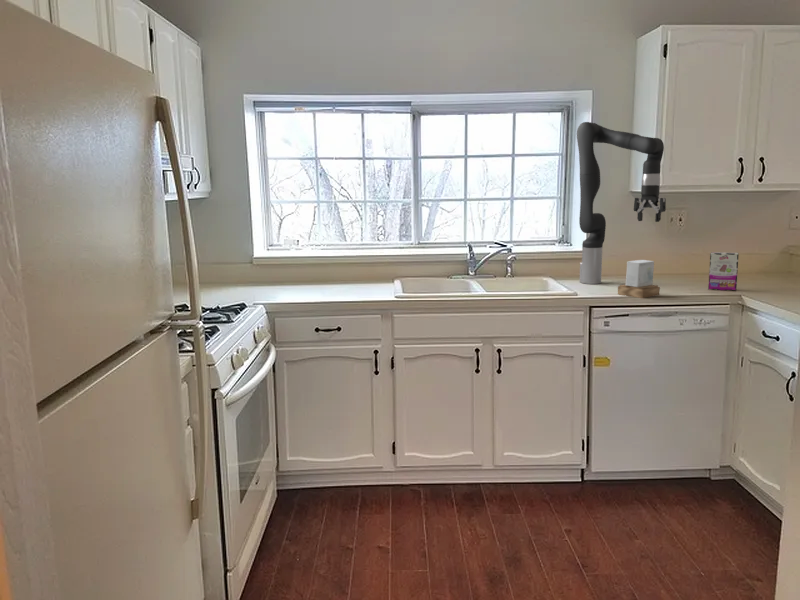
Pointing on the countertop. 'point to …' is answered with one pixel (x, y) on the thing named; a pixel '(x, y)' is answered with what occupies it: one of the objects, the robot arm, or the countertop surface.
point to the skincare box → (639, 273)
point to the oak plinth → (639, 291)
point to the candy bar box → (723, 271)
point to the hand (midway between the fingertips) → (648, 221)
